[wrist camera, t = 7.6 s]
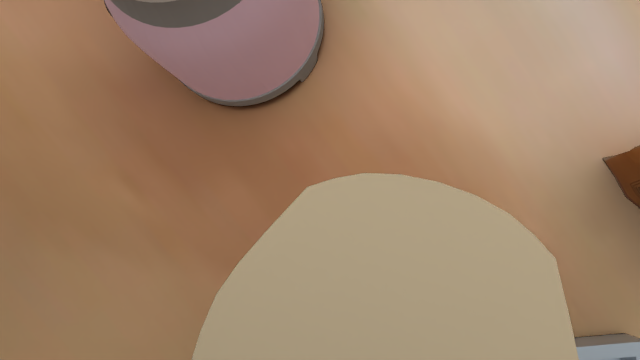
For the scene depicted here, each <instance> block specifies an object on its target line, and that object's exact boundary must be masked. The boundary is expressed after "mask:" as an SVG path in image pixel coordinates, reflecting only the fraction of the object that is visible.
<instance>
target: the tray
mask: <svg viewBox="0 0 640 360" xmlns="http://www.w3.org/2000/svg"><path fill="white" fill-rule="evenodd" d="M574 339H575V344H576V348H577V353H578V358H579V360H640V338H637V337H634V336H631V335H629V334H626V333H620V334H609V335H598V336H587V337H576V338H574Z"/></svg>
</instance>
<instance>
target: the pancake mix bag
mask: <svg viewBox="0 0 640 360" xmlns="http://www.w3.org/2000/svg"><path fill="white" fill-rule="evenodd" d="M603 159H604V161H605V162H606V164H607V165H608V167H609V169H610V170H611V172H612V173H613V175H614V177H615V178H616V180H617V182H618V184H619V186H620V188H621V189H622V191H623V193H624V195H625V197H626V198H628V199H629V200H630V201H631V202H633V203H634V204H635V205H637V206H638V207H639V208H640V146H637V147H635V148H633V149H632V150H630V151H628V152H625V153H622V154H619V155H615V156H610V157H605V158H603Z"/></svg>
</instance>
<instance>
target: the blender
mask: <svg viewBox="0 0 640 360" xmlns="http://www.w3.org/2000/svg"><path fill="white" fill-rule="evenodd" d="M104 2H105V5H106V8H107V10H108V12H109V13H110V15H111V16H112V17H113V18H114V20H115V21H116V23H117V24H118V25H119V27H120V28H121V29H122V30H123V32H124V33H125V34H126V35H127V36H128V38H130V39H131V40H132V41H133V42H134V43H135V44H136V45H137V46H138V47H139V48H140V49H142V50H143V51H144V52H145V53H146V54H147V55H149V56H150V57H151V58H152V59H153V60H155V61H156V62H157V63H158V64H160V65H161V66H162V67H164V68H165V69H166V70H167V71H169V72H170V73H171V74H173V75H174V76H175V77H177V78H178V79H179V80H180V81H181V82H182V83H183V84H184V85H185V86H187V87H188V88H189V89H190V90H192V91H193V92H194V93H196V94H197V95H199V96H201V97H202V98H204V99H207V100H209V101H211V102H214V103H218V104H222V105H229V106H247V105H253V104H258V103H262V102H265V101H267V100H270V99H272V98H274V97H276V96H278V95H280V94H282V93H283V92H285V91H287V90H288V89H289V88H291V87H292V86H293V85H294V84H295V83H296V82H297V81H299V80H300V81H301V82H303V81H304V80H305V79H306V78H307V77H308V75H309V74H310V73H311V71H312V69H313V68H314V66H315V64H316V62H317V53H318V50H319V47H320V44H321V40H322V36H323V29H324V15H323V8H322V4H321V0H104Z"/></svg>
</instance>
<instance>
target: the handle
mask: <svg viewBox="0 0 640 360" xmlns="http://www.w3.org/2000/svg"><path fill="white" fill-rule="evenodd" d="M192 360H579V358H578V353H577V348H576V344H575V339H574V334H573V330H572V325H571V320H570V316H569V312H568V308H567V304H566V300H565V295H564V291H563V287H562V283H561V279H560V275H559V271H558V266H557V262H556V258H555V257H554V256H553V255H552V254H551V253H550V252H549V251H548V250H547V248H546V247H545V246H544V245H543V244H542V243H541V242H540V241H539V240H538V239H537V237H536V236H535V235H534V234H533V233H531V232H530V231H529V230H528V229H527V228H525V227H524V226H523V225H522V224H521V223H520V222H518V221H517V220H516V219H515V218H514V217H513V216H511V215H510V214H509V213H507V212H505V211H503V210H502V209H500V208H498V207H496V206H494V205H493V204H491V203H489V202H487V201H485V200H483V199H482V198H480V197H478V196H476V195H473V194H471V193H468V192H465V191H462V190H460V189H457V188H454V187H451V186H449V185H446V184H443V183H440V182H437V181H431V180H426V179H421V178H416V177H411V176H406V175H401V174H377V173H362V174H356V175H350V176H345V177H339V178H334V179H331V180H328V181H324V182H321V183H318V184H315V185H312V186H309V187H307V188H306V189H305V190H304V191H303V192H302V193H301V194H300V195H299V196H298V198H297V199H296V200H295V201H294V202H293V203H292V204H291V205H290V206H289V207H288V208H287V209H286V210H285V211H284V213H283V214H282V215H281V216H280V217H279V218H278V219H277V220H276V221H275V222H274V223H273V224H272V225H271V227H270V228H269V229H268V230H267V231H266V232H265V233H264V234H263V235H262V237H261V238H260V239H259V240H258V241H257V242H256V243H255V245H254V246H253V247H252V248H251V249H250V250H249V251H248V253H247V254H246V255H245V256H244V257H243V258H242V259H241V260H240V262H239V263H238V264H237V266H236V267H235V268H234V270H233V271H232V273H231V274H230V276H229V277H228V278H227V280H226V281H225V283H224V284H223V286H222V287H221V288H220V290H219V291H218V293H217V294H216V296H215V299H214V301H213V303H212V306H211V308H210V310H209V313H208V315H207V317H206V320H205V322H204V324H203V327H202V329H201V332H200V335H199V338H198V341H197V344H196V347H195V350H194V354H193V357H192Z"/></svg>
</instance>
